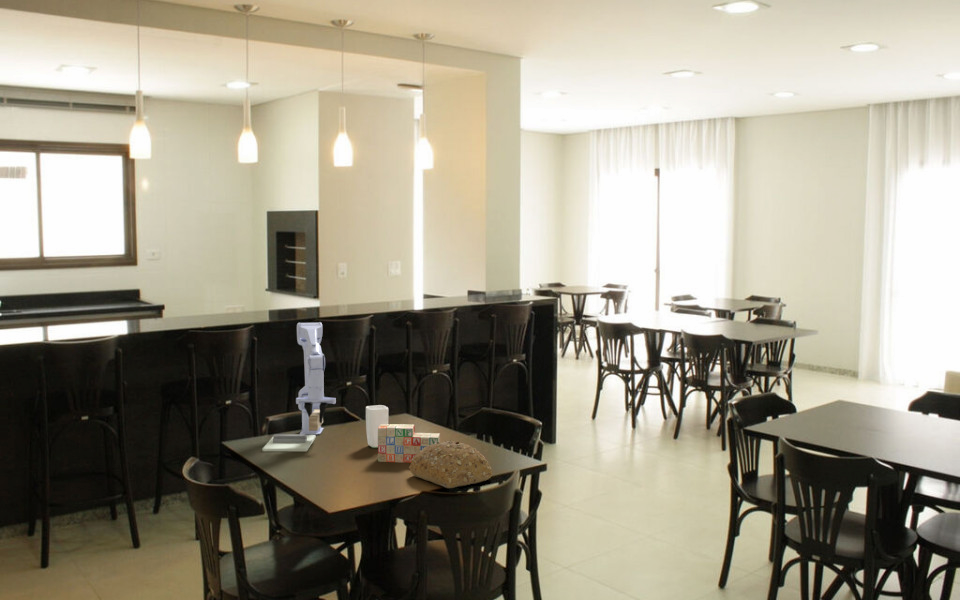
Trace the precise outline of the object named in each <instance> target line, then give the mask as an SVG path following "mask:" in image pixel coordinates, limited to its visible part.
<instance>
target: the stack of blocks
mask: <svg viewBox="0 0 960 600" xmlns="http://www.w3.org/2000/svg"><path fill="white" fill-rule="evenodd" d="M415 426H416V425H415V424H413V423H411V424H406V423H405V424H404V423H399V424H398V423H397V424H395V423H394V424H393V423H392V424H391V423H390V424H389V423H388V424H381V425H380V426H379V427H378V448H377V462H381V463H382V462H384V463H411V461H412V458H414V457H415V455H416V454H418V453H419V451H421V450H423V449H424V448H425V447H427V446H429V445H433V444H435V443H436V444H437V443H438V442H439V443H440V442H441V433H440V432H439V433H437V432H435V433H434V432H415Z"/></svg>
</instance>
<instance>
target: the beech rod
mask: <svg viewBox="0 0 960 600" xmlns="http://www.w3.org/2000/svg"><path fill="white" fill-rule="evenodd" d="M323 423H324V419H323V420H322V423H320V409H315V410H314V411H313V413H312V414H311V415H310V417H309V431H317V430H318V429H319V427H320V426H321V427H322V424H323Z"/></svg>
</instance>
